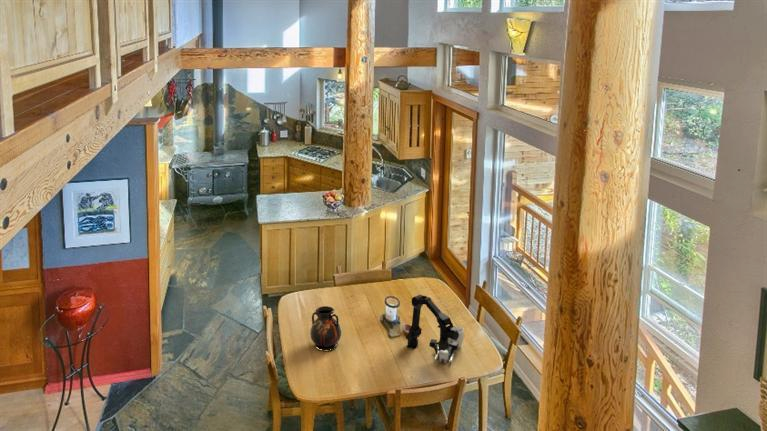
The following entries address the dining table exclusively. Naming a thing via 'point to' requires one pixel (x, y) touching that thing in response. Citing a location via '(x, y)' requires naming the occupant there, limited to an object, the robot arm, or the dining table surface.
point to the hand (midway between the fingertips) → (443, 355)
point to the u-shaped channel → (448, 355)
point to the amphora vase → (325, 329)
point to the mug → (461, 335)
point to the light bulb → (443, 356)
